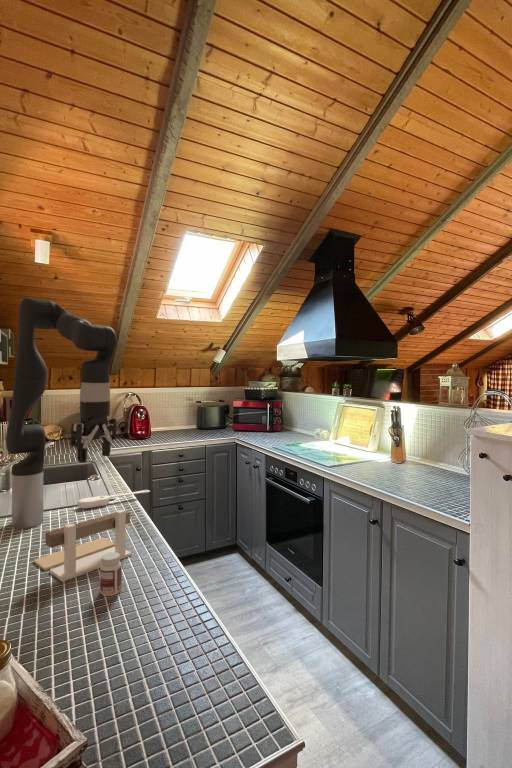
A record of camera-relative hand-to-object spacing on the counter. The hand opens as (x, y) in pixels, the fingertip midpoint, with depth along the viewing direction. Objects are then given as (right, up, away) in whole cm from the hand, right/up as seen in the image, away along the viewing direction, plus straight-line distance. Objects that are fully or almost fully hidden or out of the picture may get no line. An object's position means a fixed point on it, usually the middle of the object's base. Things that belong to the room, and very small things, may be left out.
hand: (94, 458), depth 108 cm
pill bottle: (+10, -28, -15) cm, 33 cm away
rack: (0, -28, -1) cm, 28 cm away
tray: (-7, -28, +4) cm, 29 cm away
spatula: (-12, -27, +49) cm, 57 cm away
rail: (-1, -20, -1) cm, 20 cm away
